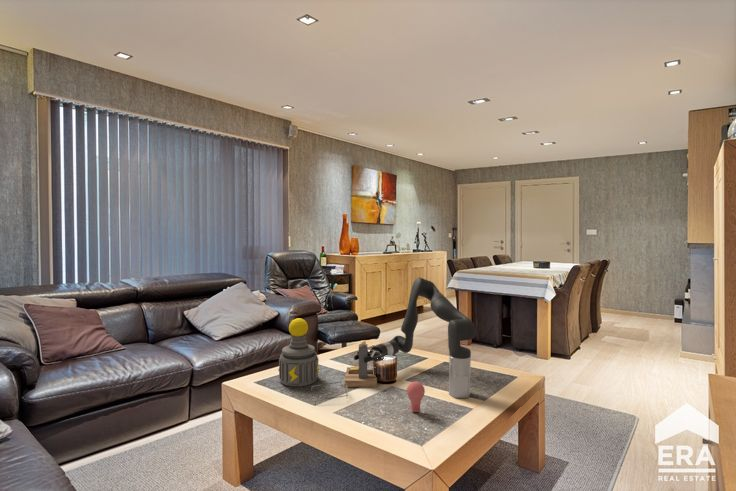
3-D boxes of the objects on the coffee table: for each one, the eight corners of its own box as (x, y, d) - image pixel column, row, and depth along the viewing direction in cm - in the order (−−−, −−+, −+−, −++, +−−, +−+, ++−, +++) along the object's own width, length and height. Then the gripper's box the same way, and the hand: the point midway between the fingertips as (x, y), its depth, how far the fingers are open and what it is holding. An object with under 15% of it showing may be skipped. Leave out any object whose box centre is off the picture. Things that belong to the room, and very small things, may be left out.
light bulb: (412, 406, 177) (413, 377, 177) (427, 410, 173) (428, 381, 172) (403, 412, 172) (403, 382, 171) (418, 417, 167) (418, 386, 167)
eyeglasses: (350, 402, 182) (350, 391, 182) (314, 405, 179) (314, 394, 178) (343, 388, 197) (343, 377, 197) (311, 391, 194) (311, 380, 194)
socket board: (376, 387, 198) (376, 379, 197) (344, 386, 198) (344, 379, 198) (376, 373, 215) (376, 366, 215) (347, 373, 216) (347, 366, 216)
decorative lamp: (322, 373, 215) (321, 314, 213) (313, 388, 196) (313, 323, 194) (285, 372, 217) (284, 313, 215) (273, 386, 198) (272, 322, 196)
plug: (367, 378, 200) (367, 342, 200) (358, 378, 201) (358, 342, 200) (367, 375, 204) (367, 340, 204) (359, 375, 205) (359, 340, 204)
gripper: (371, 341, 217) (348, 348, 205) (394, 346, 208) (371, 354, 195) (371, 355, 218) (348, 363, 205) (393, 361, 208) (371, 370, 196)
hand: (359, 359), depth 200 cm, fingers closed on plug, 5 cm apart
